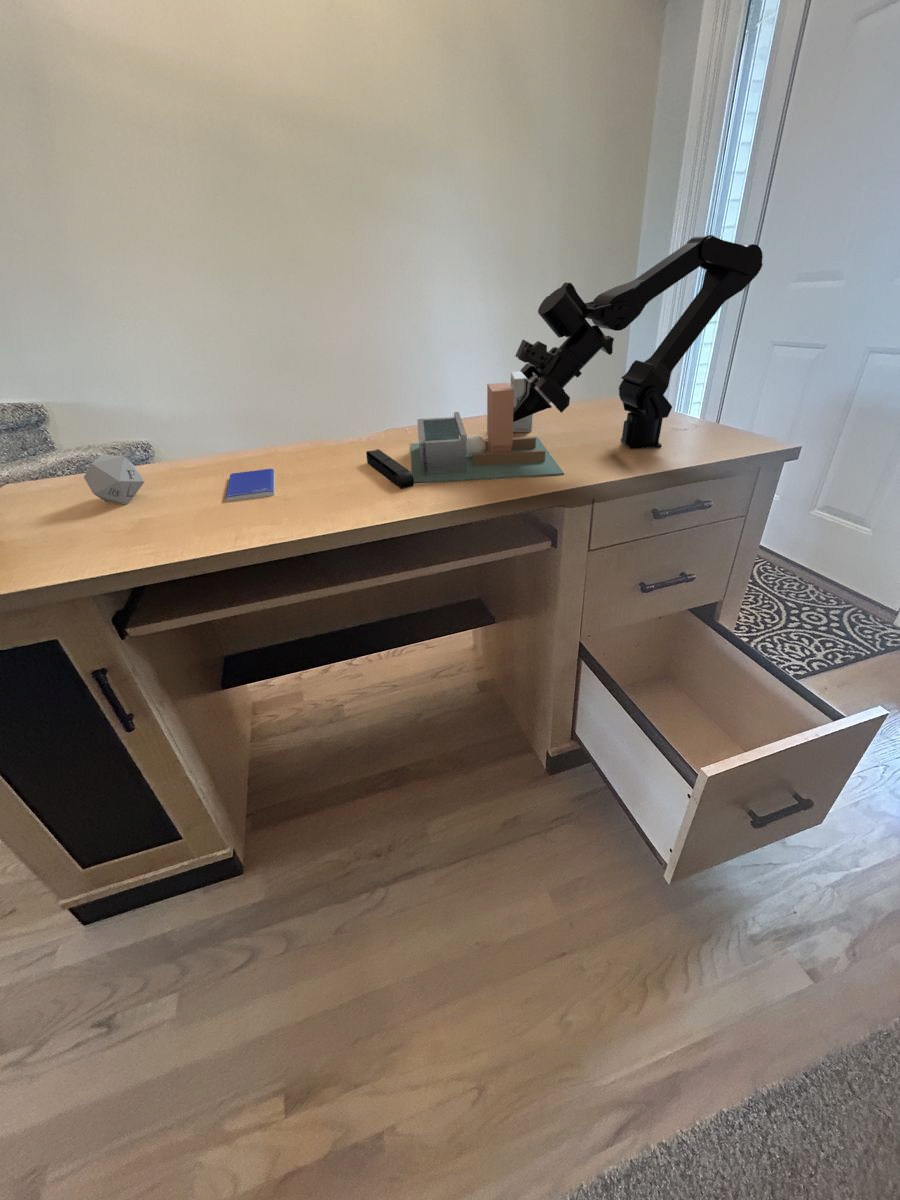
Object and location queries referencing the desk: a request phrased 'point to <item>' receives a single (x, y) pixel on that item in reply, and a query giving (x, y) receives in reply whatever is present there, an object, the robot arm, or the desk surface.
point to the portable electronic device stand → (390, 469)
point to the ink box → (518, 388)
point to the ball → (475, 445)
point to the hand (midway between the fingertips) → (511, 419)
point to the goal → (442, 445)
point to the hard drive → (251, 485)
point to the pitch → (496, 463)
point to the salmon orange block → (500, 417)
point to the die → (113, 479)
